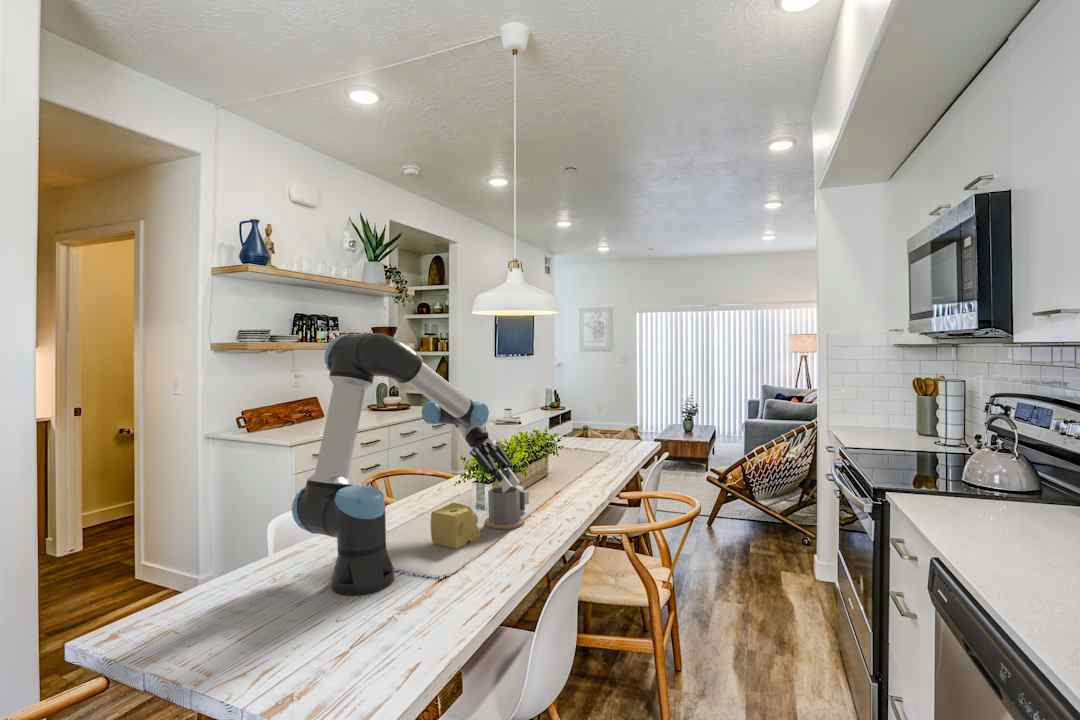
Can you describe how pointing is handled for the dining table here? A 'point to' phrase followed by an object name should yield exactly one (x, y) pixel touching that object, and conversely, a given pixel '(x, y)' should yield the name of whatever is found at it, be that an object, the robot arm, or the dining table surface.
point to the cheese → (454, 526)
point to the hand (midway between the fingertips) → (512, 486)
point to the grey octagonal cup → (505, 508)
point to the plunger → (506, 473)
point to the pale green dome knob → (526, 495)
